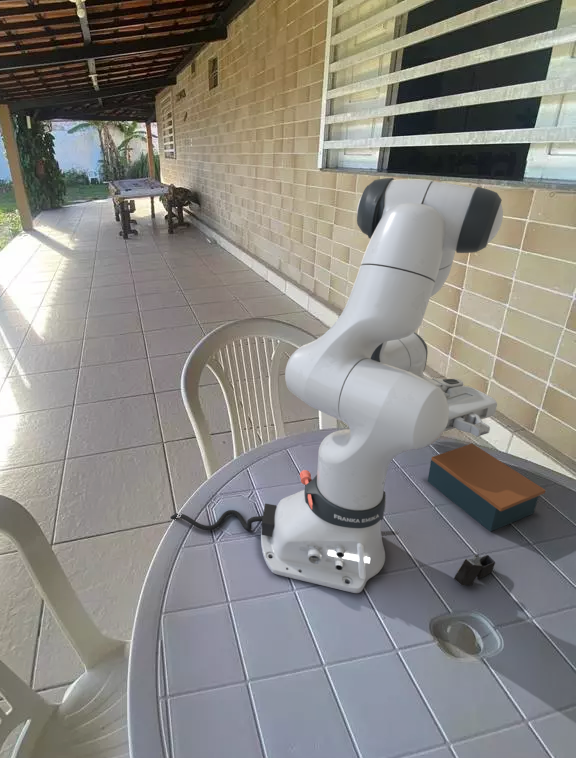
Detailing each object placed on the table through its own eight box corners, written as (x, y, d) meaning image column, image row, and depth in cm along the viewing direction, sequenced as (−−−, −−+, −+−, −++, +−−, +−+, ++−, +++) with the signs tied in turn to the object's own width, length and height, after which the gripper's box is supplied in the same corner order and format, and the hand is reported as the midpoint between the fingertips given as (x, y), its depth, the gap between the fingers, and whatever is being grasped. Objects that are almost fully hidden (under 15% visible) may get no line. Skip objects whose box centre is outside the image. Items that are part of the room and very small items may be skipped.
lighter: (471, 576, 75) (486, 552, 74) (483, 586, 73) (498, 561, 72) (449, 575, 71) (465, 549, 70) (461, 585, 69) (477, 558, 68)
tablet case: (533, 513, 84) (540, 490, 81) (490, 531, 80) (496, 508, 78) (466, 467, 97) (471, 446, 94) (427, 481, 93) (431, 460, 91)
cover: (545, 493, 81) (546, 490, 80) (500, 511, 77) (501, 508, 77) (471, 446, 94) (472, 443, 94) (431, 459, 91) (431, 456, 91)
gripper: (392, 396, 93) (446, 431, 80) (463, 377, 98) (523, 407, 86) (389, 420, 95) (441, 458, 83) (458, 400, 101) (517, 432, 88)
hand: (484, 432), depth 84 cm, fingers closed
